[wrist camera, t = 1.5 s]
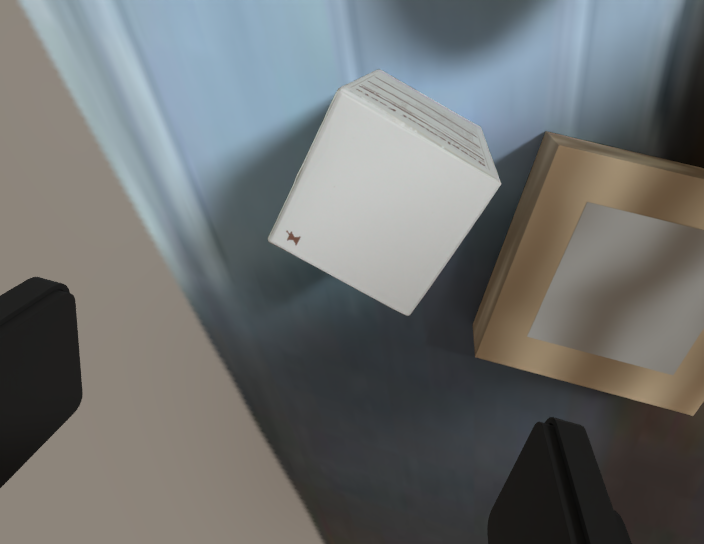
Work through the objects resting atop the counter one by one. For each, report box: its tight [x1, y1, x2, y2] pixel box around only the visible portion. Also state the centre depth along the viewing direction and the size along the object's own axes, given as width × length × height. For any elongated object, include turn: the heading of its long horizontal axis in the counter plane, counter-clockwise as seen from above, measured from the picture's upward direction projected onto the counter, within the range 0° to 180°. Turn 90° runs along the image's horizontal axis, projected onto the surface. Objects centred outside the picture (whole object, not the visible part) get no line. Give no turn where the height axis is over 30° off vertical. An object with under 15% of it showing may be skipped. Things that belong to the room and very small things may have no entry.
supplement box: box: [268, 69, 501, 316], centre depth 25 cm, size 7×7×13 cm
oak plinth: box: [473, 131, 704, 416], centre depth 30 cm, size 14×14×4 cm
